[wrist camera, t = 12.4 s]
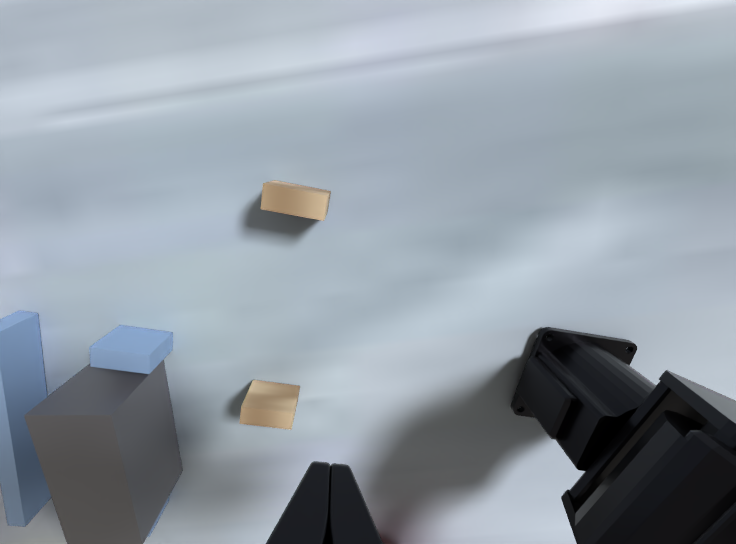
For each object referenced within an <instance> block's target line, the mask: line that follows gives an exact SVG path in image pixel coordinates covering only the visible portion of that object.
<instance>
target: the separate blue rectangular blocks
mask: <svg viewBox="0 0 736 544" xmlns="http://www.w3.org/2000/svg"><path fill="white" fill-rule="evenodd" d="M172 344H173V332H166V331H159V330H152V329H144V328H137V327H130V326H123V325H119V326H118V327H117V328H115V329H114V330H112V331H111V332H110V333H108V334H107V335H105V336H104V337H103V338H101V339H100V340H98V341H97V342H96V343H94V344H93V345H92V346H90V347H89V351H90V367H97V368H105V369H113V370H121V371H128V372H136V373H144V374H150V373H151V372H152V371H153V370H154V369H155V368H156V367H157V366H158V365H159V363H160V362H161V361H162V360H163V359H164V358H165V357H166V356H167V355H168V354H169V353H170V352H171V351H172ZM45 398H47V390H46V381H45V372H44V363H43V354H42V345H41V336H40V327H39V318H38V313H32V312H25V311H17V312H15V313H13V314H11V315H8V316H6V317H4V318H2V319H0V484H1V490H2V496H3V501H4V507H5V512H6V518H7V524H8V525H10V526H23V527H25V526H26V525H27V524H28V523H29V522H30V521H31V519H32V518H33V517H34V516H35V515H36V514H37V513H38V512H39V510H40V509H41V508H42V507H43V506H44V505H45V504H46V503H47V501H48V500H49V499H50V498H51V494H50V491H49V488H48V485H47V482H46V479H45V477H44V474H43V471H42V468H41V465H40V462H39V459H38V456H37V453H36V450H35V447H34V444H33V441H32V438H31V435H30V432H29V429H28V426H27V423H26V421H25V418H24V415H25V414H26V413H27V412H29V411H30V410H31V409H33V408H34V407H35V406H36V405H38V404H39V403H40V402H42V401H43V400H44V399H45ZM168 501H169V497H168V499H167V500H166V502H165V504H164V506H163V508H162V510H161V512H160V513H159V515H158V517H157V519H156V521H155V523H154V525H153V526H152V528H151V530H150V532H149V534H148V536H147V537H150V535H151V533H152V531H153V530H154V528H155V526H156V524H157V522H158V520H159V518H160V516H161V515H162V513H163V511H164V509H165V507H166V505H167V503H168Z"/></svg>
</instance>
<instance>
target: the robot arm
mask: <svg viewBox="0 0 736 544" xmlns="http://www.w3.org/2000/svg"><path fill="white" fill-rule="evenodd" d="M548 334H550V336H549V337H547V338H546V336H547V335H548ZM636 351H637V346H636V345H635V344H634V343H633V342H631V341H629V340H625V339H618V338H612V337H606V336H600V335H594V334H588V333H582V332H575V331H569V330H563V329H557V328H551V327H546V328H543V329H542V330H541V331H540V332H539V334H538V337H537V340H536V342H535V345H534V347H533V350H532V352H531V355H530V358H529V359H528V361H527V364H526V366H525V369H524V372H523V374H522V377H521V379H520V382H519V384H518V387H517V391H516V393H515V396H514V399H513V401H512V404H511V408H512V410H513V412H514V413H515V414H516V415H519V416H527V417H535V418H536V419H537V420H538V421H539V423H540V424H541V426H542V427H543V428H544V430H545V431H546V433H547V434H548V435H549V437H550V438H551V439H555V440H556V441H557V442H558V444H559V445H560V446H561V448H562V449H563V450H564V452H565V453H566V455H567V456H568V457H569V459H570V460H571V461H572V463H573V464H574V465H575V467H576V468H577V469H578V470H582V471H585V472H584V474H583V475H582V476H581V477H580V479H579V480H578V481H577V482H576V483H575V485H574V486H573V487H572V488H571V489H570V490H567V491H566V492H565V493H564V494H563V496H562V497H561V499H562V502H563V505H564V508H565V511H566V513H567V516H568V519H569V522H570V525H571V528H572V531H573V534H574V537H575V540H576V542H577V544H736V401H735V400H733V399H731V398H728V397H726V396H724V395H722V394H719V393H717V392H715V391H713V390H710V389H708V388H706V387H704V386H701V385H699V384H697V383H695V382H692V381H690V380H688V379H686V378H683V377H681V376H679V375H677V374H674V373H672V372H670V371H668V370H666V371H665V372H664V373H663V374H662V376H661V377H660V378H659V380H661V381H660V382H659V383H658V384H657V386H656V385H655V384H653V383H652V382H651V381H649V380H648V379H646V378H645V377H644V376H642V375H641V374H640V373H638V372H637V371H636V370H634V369H633V368H632V367H630V366H629V365H630V363H631V361H632V359H633V357H634V355H635V353H636ZM520 406H521V407H520ZM518 407H520V408H518ZM266 544H383V543H382V540H381V538H380V536H379V533H378V531H377V529H376V526H375V524H374V522H373V519H372V517H371V515H370V513H369V510H368V508H367V506H366V503H365V501H364V499H363V496H362V494H361V492H360V489H359V487H358V485H357V482H356V480H355V478H354V475H353V473H352V471H351V469H350V467H349V466H348V465H345V464H336V463H333V464H331V466H330V464H329V463H326V462H317V461H314V462H312V463H311V464H310V466H309V468H308V470H307V471H306V473H305V475H304V477H303V479H302V480H301V482H300V484H299V486H298V487H297V489H296V491H295V493H294V495H293V496H292V498H291V500H290V502H289V503H288V505H287V507H286V509H285V511H284V512H283V514H282V516H281V518H280V519H279V521H278V523H277V525H276V527H275V528H274V530H273V532H272V534H271V535H270V537H269V539H268V541H267V543H266Z"/></svg>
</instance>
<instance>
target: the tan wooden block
mask: <svg viewBox="0 0 736 544" xmlns="http://www.w3.org/2000/svg"><path fill="white" fill-rule="evenodd" d="M330 193H331V191H327V190H322V189H317V188H312V187H307V186H302V185H296V184H291V183H286V182H281V181H276V180H274V181H270V182H266V183H263V189H262V199H261V209H262V210H268V211H273V212H279V213H284V214H289V215H295V216H300V217H306V218H311V219H317V220H322V221H324V219H325V217H326V215H327V212H328V205H329V199H330ZM299 389H300V386H296V385H289V384H281V383H274V382H266V381H258V380H253V381H252V384H251V386H250V388H249V390H248V393H247V395H246V397H245V399H244V402H243V404H242V406H241V414H240V424H247V425H256V426H264V427H273V428H281V429H290V430H291V429H292V424H293V420H294V415H295V411H296V406H297V402H298V395H299Z"/></svg>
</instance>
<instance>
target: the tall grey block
mask: <svg viewBox="0 0 736 544" xmlns="http://www.w3.org/2000/svg"><path fill="white" fill-rule="evenodd" d="M24 418H25V421H26V423H27V426H28V429H29V432H30V435H31V438H32V441H33V444H34V447H35V450H36V453H37V456H38V459H39V462H40V465H41V468H42V471H43V474H44V477H45V479H46V482H47V485H48V488H49V491H50V494H51V497H52V500H53V503H54V506H55V509H56V512H57V515H58V518H59V521H60V524H61V527H62V530H63V532H64V535H65V538H66V541H67V544H143V543H144V541H145V539H146V538H147V536H148V534H149V532H150V530H151V528H152V526H153V525H154V523H155V521H156V519H157V517H158V515H159V513H160V512H161V510H162V508H163V506H164V504H165V502H166V500H167V499H168V497H169V495H170V493H171V491H172V489H173V487H174V486H175V484H176V482H177V480H178V478H179V476H180V475H181V473H182V471H183V469H182V464H181V458H180V452H179V446H178V440H177V435H176V429H175V423H174V417H173V411H172V405H171V400H170V394H169V388H168V382H167V376H166V371H165V365H164V359H163V360H162V361H161V362H160V363H159V365H158V366H157V367H156V368H155V369H154V370H153V371H152V372H151V373H150V374H144V373H136V372H128V371H121V370H113V369H105V368H97V367H90V364H89V365H88V366H86V367H85V368H84V369H82V370H81V371H80V372H79V373H77V374H76V375H75V376H73V377H72V378H71V379H70V380H68V381H67V382H66V383H65V384H63V385H62V386H61V387H59V388H58V389H57V390H56V391H54V392H53V393H52V394H50V395H49V396H48V397H47V398H45V399H44V400H43V401H42V402H40V403H39V404H38V405H36V406H35V407H34V408H33V409H31V410H30V411H29V412H27V413H26V414H25V415H24Z"/></svg>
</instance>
